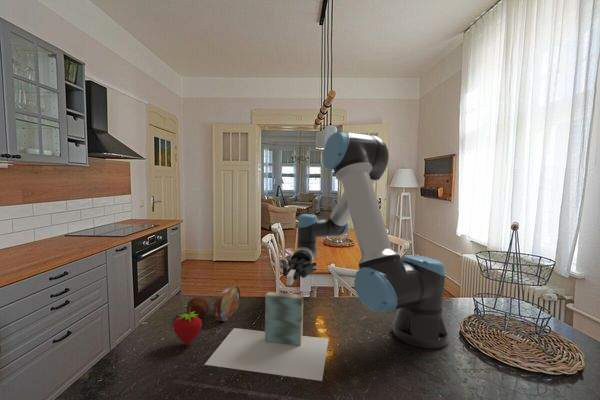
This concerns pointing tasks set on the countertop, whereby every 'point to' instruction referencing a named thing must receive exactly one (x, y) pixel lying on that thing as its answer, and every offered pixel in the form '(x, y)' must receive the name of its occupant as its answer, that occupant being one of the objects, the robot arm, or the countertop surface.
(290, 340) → the board
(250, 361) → the mat
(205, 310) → the potato
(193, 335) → the strawberry
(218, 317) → the tin
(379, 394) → the countertop surface
